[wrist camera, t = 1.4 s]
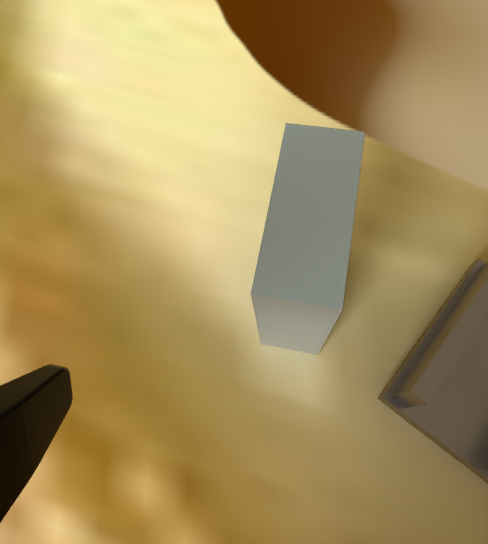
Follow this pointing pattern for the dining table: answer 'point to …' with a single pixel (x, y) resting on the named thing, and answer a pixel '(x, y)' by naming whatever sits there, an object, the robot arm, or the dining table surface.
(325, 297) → the tall grey-blue box
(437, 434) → the dish rack
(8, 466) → the robot arm
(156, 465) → the dining table surface
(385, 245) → the dining table surface
